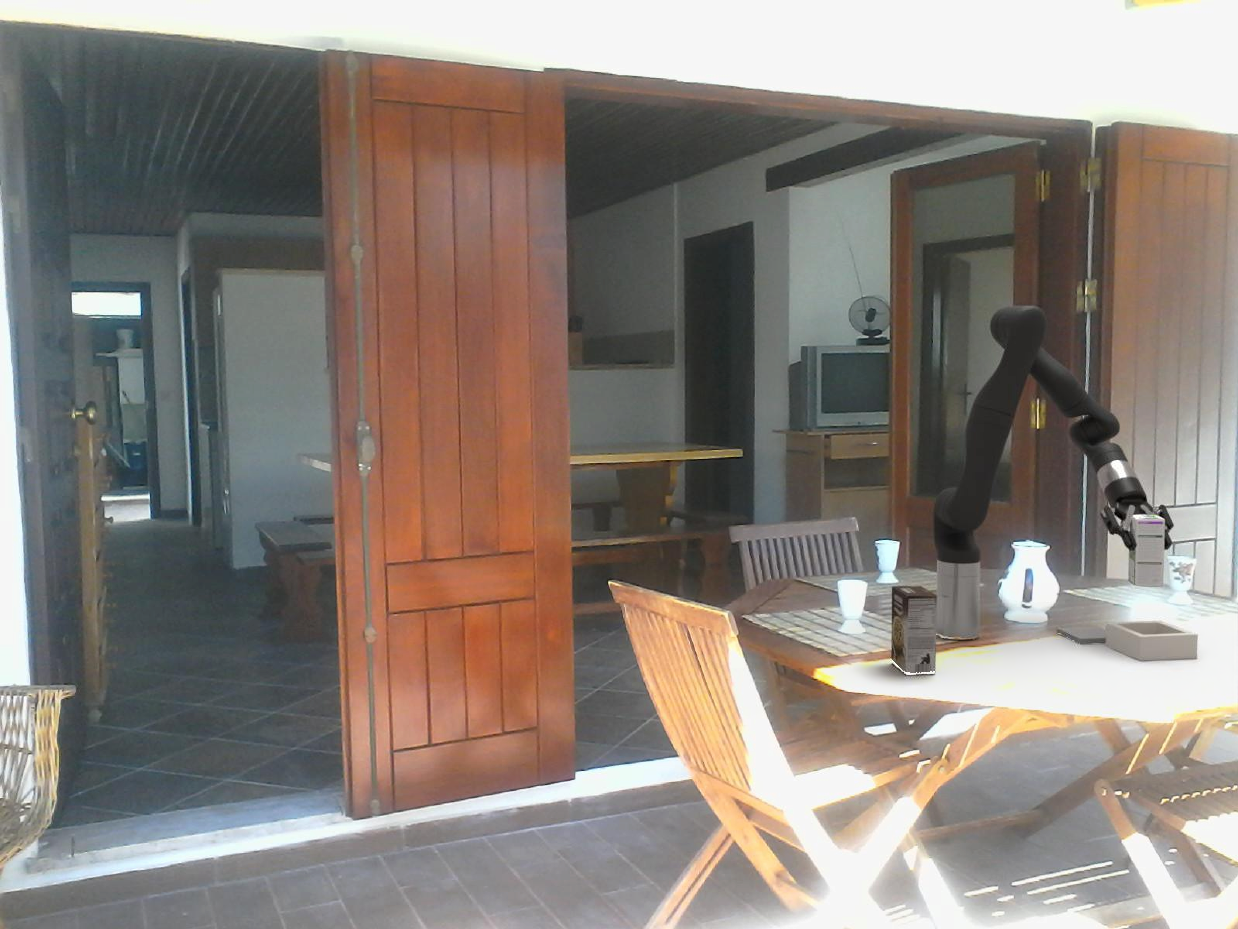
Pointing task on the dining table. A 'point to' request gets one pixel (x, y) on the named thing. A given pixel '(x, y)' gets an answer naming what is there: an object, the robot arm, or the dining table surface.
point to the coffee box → (914, 628)
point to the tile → (1084, 634)
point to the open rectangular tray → (1151, 640)
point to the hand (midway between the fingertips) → (1150, 548)
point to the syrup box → (1147, 551)
